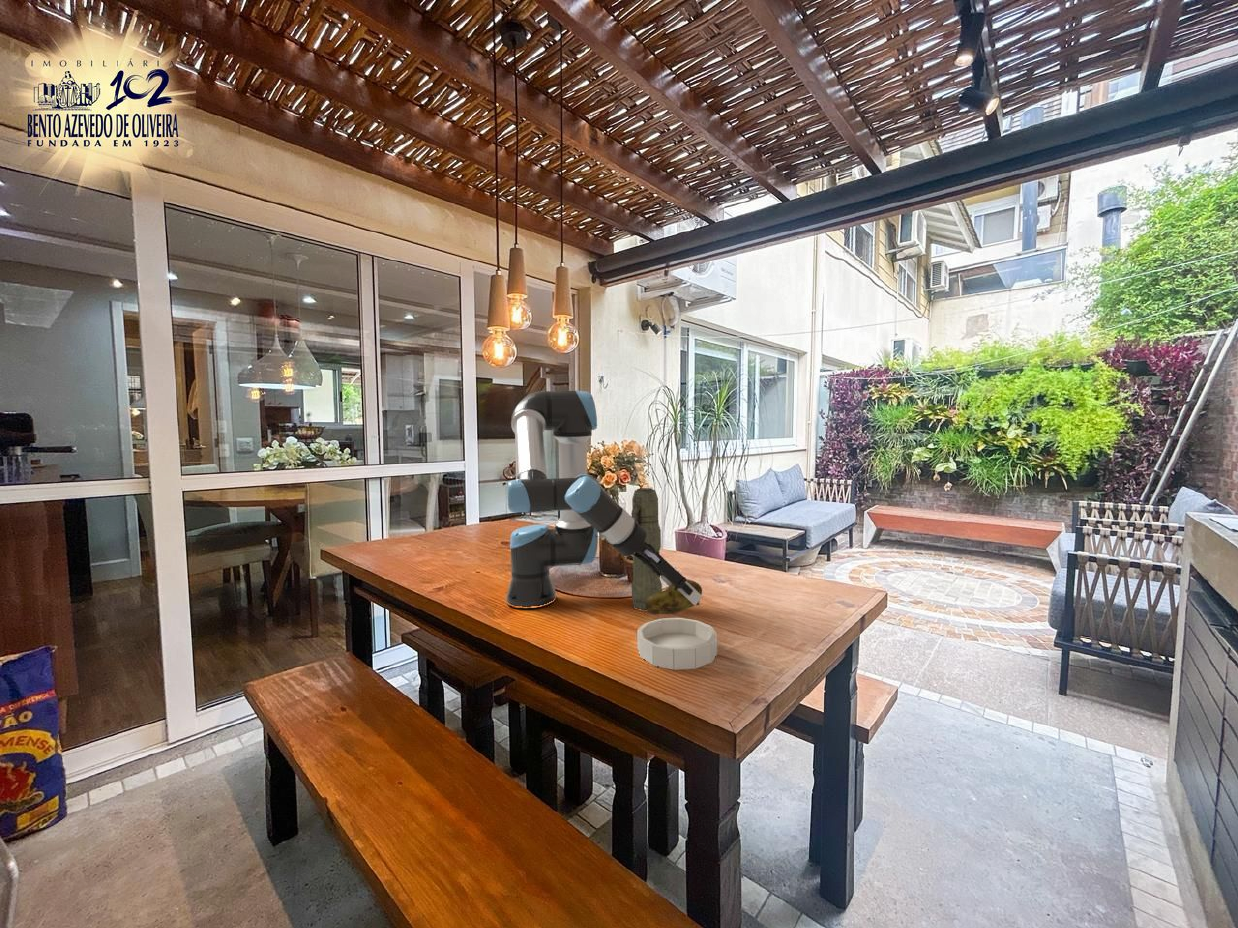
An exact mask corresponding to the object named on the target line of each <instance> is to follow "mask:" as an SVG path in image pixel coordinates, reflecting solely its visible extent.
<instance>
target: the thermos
mask: <svg viewBox="0 0 1238 928" xmlns="http://www.w3.org/2000/svg"><path fill="white" fill-rule="evenodd" d="M631 502H632V503H631V504H632V510H631V514H630V515H631V517H632V518H633V519H634V522H637V523H638V524H639V525H640V526H641V527H642V528H644V529H645V530H646V532H647V537H646V539H645V542H646V543H647V544H650V545H651V546H652V547H653V548H654V550H655V551H657V552H658V553H659V554H660V550H661V547H662V537H661V536H662V535H661V534H662V533H661V531H662V530H661V527H660V524H659V497H658V495H657V491H656V490H655V489H653V488H652V487H651V488H649V487H645V488H644V487H643V488H641V487H640V488H637V489H635V490H634V492H633V496H632V501H631ZM632 568H633V569H632V572H633V573H632V574H633V576H632V577H633V579H632V582H631V599H632V607H635V608H637V609H641V610H646V608H645V607H646V606H645V605H646V600H647V599H648V598H649V597H650V596H652V595H654V594H656V593H658V592H661V591H663V584H662V583H663V582H662V581H661V576H660V577H659V576H657V574H656V573H653V572H652V570H651V569H650V568H648V567H647V566H646V565H645V564H644V563H643V562H641V561H640V560H639V559H637V558H636V557H635V556H634V553H633V554H632Z"/></svg>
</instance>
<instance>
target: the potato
mask: <svg viewBox="0 0 1238 928" xmlns="http://www.w3.org/2000/svg"><path fill="white" fill-rule="evenodd" d="M686 579H687V582H688V583H689V584H690V585H691V586H692V587H693V588H694V589H695V590H696V591H697V592H699V593H700V594H701V595H702V596H703V588H702V586H701V585H700V584H699V583H698V582H696V581H694V580H691V579H689V578H686ZM674 588H675V585H673V584H672V585H671V586H668V587H667V588H666V589H664V590H662V591H661V592H658V593H656V594H654V595H652V596H650V597H649V598H648V599H647V600H646V605H645V606H646V607H645V608H646V610H647V611H646V612H647V613H650V614H652V615H655V616H657V615H671V614H673V615H674V614H679V613H680V612H683V611H685V610H687V609H690V608H692V607H696V606H700V601H699V602H698V603H697V604H696V606H695V605H693V604H692V603H691V602H690V601H689V600H688V599H687V598H686V597H685V596H684V595H683V594H682V593H681V592H680V591H678V590H677V591H675V590H674Z"/></svg>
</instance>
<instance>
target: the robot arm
mask: <svg viewBox="0 0 1238 928" xmlns="http://www.w3.org/2000/svg"><path fill="white" fill-rule="evenodd" d="M510 425H511V429H512V433H514V437H515V438H514V440H515V441H514V442H515V444H514V445H515V447H514V448H515V449H514V450H515V452H514V453H515V479H512V480H509V481H508V482H507V484H506V485H507V487H506V488H507V508H508V510H509V511H510V512H511V513H535V512H536V513H538V512H552V511H553V512H555V511H557V512H558V511H559V518H558V519H557V521H555V528H550V527H549V525H548V524H544V523H542V524H531V525H526V526H522V527H519V528H517V529H515V530H513V531H512V532H511V534H510V543H509V544H510V545H509V549H510V565H511V566H510V568H511V569H510V570H511V571H510V574H511V580H510V582H509V587H508V590H507V593H506V599H505V600H507V601H506V603H507V602H508V603H509V604H511V605H514V606H522V607H531V606H540V605H544V604H547V603H549V602H551V601H553V600H554V599H555V598H556V599H557V595H556V593H557V592H556V589H555V586H554V584H553V581H552V579H551V575H550V568H551V567H552V568H553V567H563V566H564V567H566V566H567V567H568V566H569V567H570V566H583V565H589V564H592V563H593V562H594V561H595V558H597V557H596V556H597V552H598V544H599V540H598V539H599V538H598V537H599V534H600V539H601V540H602V541H604V540H606V541H607V542H608V543H609V544H611V545H612V547H613V548H614V549H616V550H617V552H619V554H621V555H622V556H624V557H629V556H633V553H634V556H635V557H636V558H637V559H639V560H640V561H641V562H643V563H644V564H645V565H646V566H647V567H648V568H650V569H651V570H652V572H653V573H656V574H657V576H659V577H660V580H662V581H663V582H664V583H665V584H666V585H667V586H668V587H669V586H671V585H672V584H673V585H675V588H674V590H675V591H677V590H678V591H680V592H681V593H682V594H683V595H684V596H685V597H686V598H687V599H688V600H689V601H690V602H691V603H692V604H693V605H695V606H694V607H697V605H696V604H697V603H698V602H699V603H700V601H701V600H702V598H703V594H702V595H701V594H700V593H699V592H697V591H696V590H695V589H694V588H693V587H692V586H691V585H690V584H689V583H688V582H687V579H688V578H687V577H684V576H683V575H682V574H681V573H680V572H679V571H678V570H677V569H675V567H674V566H673V565H671V564H670V563H669V562H668V561H667V560H666V559H665V558H664V557H663V556H662V555H661V554H660V552H659V553H658V552H657V551H655V550H654V548H653V547H652V546H651V545H650V544H647V543H646V542H645V539H646V537H647V532H646V530H645V529H644V528H642V527H641V526H640V525H639V524H638V523H637V522H634V519H633V518H632V515H631V514H630V513H629V512H627V511H626V510H625V509H624V508H623V507H622V506H621V505H619V503H617V502H616V501H615V499H613V498H612V496H611V495H610V494H608V492H606V490H605V489H604V488H603V487H602V484H601V483H600V481H599V480H598V479H597V478H595V477H594V476H593V475H590V474H588V440H589V439H590V438H591V437H592V435H593V434H592V433H593V432H592V431H595V430H597V427H598V417H597V409H596V405H595V401H594V398H593V395H592V394H591V392H589V391H585V390H551V391H549V390H548V391H547V390H540V391H535V392H532V393H530V394H528V395H526V396H525V397H524V398H523V399H521V400H520V402H519V403H518V404H516V406H515V408H514V410H513V412H512V414H511V421H510ZM544 431H552V433H553V434H552V435H553V438H555V440H557V442H558V473H559V474H558V475H559V476H558V478H548V472H547V463H546V461H547V460H546V453H545V452H546V451H545V440H544Z"/></svg>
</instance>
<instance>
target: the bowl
mask: <svg viewBox="0 0 1238 928" xmlns="http://www.w3.org/2000/svg"><path fill="white" fill-rule="evenodd" d="M636 631H637V632H636V633H637V650H639V652H638V655H639V654H640V656H639V658H640V657H642V658H643V659H645V660H646V661H648V662H649V663H650V664H649V663H648V662H647V663H648V664H649V665H651V664H652V665H651V666H654V667H657V666H659V667H658V668H662V669H666V670H672V671H673V670H675V671H677V670H681V671H682V670H695V669H698V668H701V667H704V666H706V665H709V664H712V663H713V662H714V660H715V658H716V657H715V656H718V634H717V632H716V630H715V629H714V628H713V627H712V625H709V624H707V623H705V622H702V621H701V620H697V619H690V618H684V617H667V618H666V617H665V618H659V619H655V620H651V621H648V622H645V623H644V624H642V625H641V626H640V627H639V628H638V629H637V630H636ZM643 659H642V660H643ZM646 661H645V662H646Z"/></svg>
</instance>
